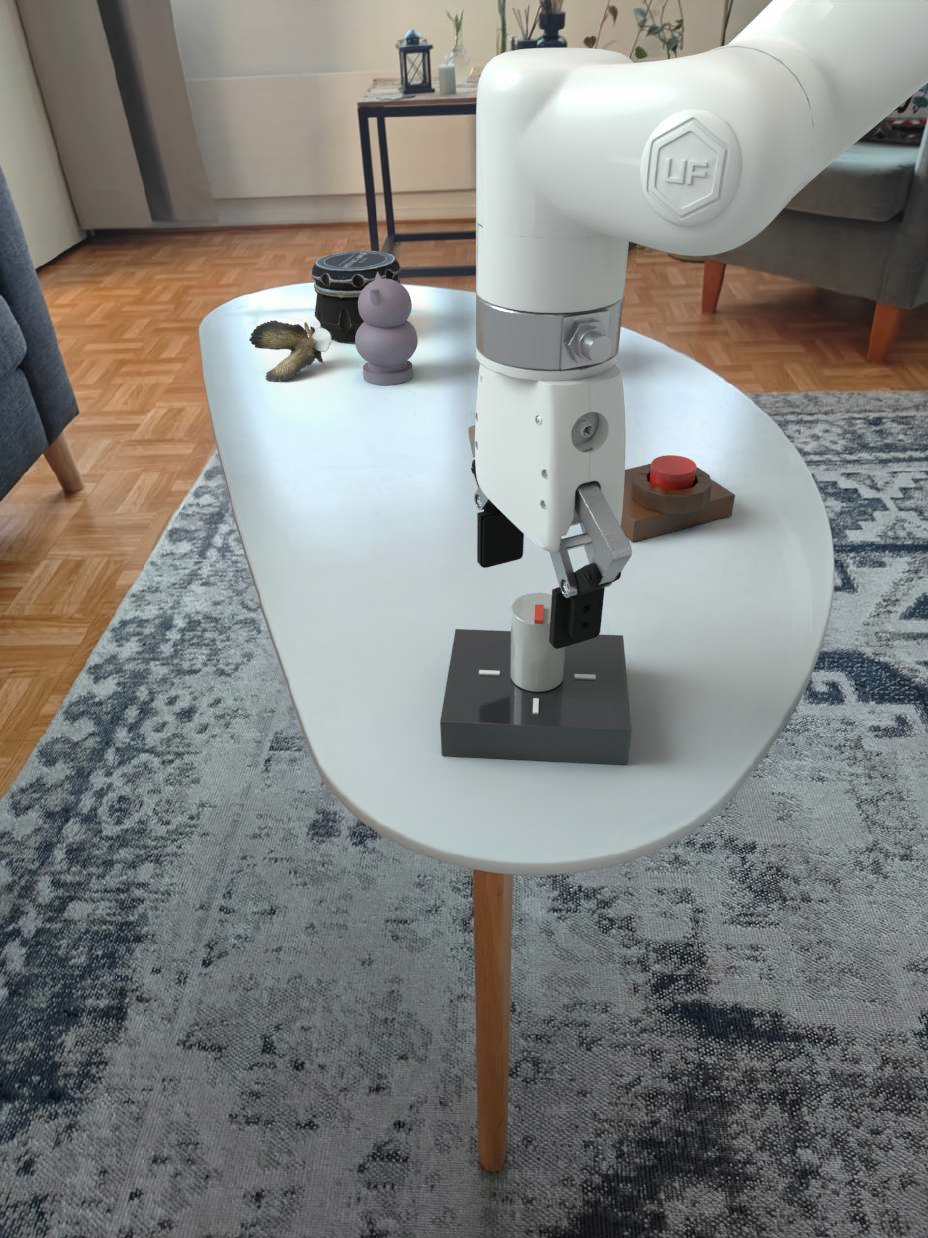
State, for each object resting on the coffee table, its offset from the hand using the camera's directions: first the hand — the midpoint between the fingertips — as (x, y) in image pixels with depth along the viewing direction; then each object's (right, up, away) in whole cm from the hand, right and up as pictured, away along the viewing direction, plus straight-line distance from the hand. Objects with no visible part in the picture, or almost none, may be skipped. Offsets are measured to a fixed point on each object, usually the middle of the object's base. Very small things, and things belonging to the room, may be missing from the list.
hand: (534, 598), depth 57 cm
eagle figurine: (-27, +31, +61) cm, 73 cm away
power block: (+14, +9, +28) cm, 33 cm away
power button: (+14, +11, +25) cm, 31 cm away
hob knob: (0, -5, +3) cm, 6 cm away
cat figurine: (-14, +30, +58) cm, 67 cm away
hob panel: (0, -8, +5) cm, 9 cm away
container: (-19, +40, +74) cm, 86 cm away
